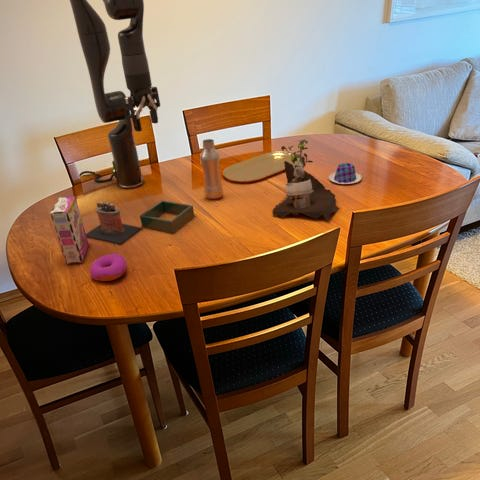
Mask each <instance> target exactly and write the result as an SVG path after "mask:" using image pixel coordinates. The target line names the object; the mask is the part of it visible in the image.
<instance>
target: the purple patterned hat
mask: <svg viewBox="0 0 480 480" xmlns="http://www.w3.org/2000/svg"><path fill="white" fill-rule="evenodd" d="M362 178H363V177H362V175H361V174H359V173H358V172H356V167H355V165H354V164H353V163H349V162H342V163H339V164H338V165H337V167H336V171H335V172H333V173H330V174H329V176H328V180H329V181H331V182H333V183H335V184H339V185H349V184H355V183H358V182H360V181H361V180H362Z"/></svg>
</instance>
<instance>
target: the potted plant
mask: <svg viewBox="0 0 480 480" xmlns="http://www.w3.org/2000/svg"><path fill="white" fill-rule="evenodd" d="M298 142H299V143H298V145H297V149H298V150H296V151H294V152H293V151H292V148H293V147H294V145H291V146H288V148H287V147H286V146H285V145H283V146H281V148H280V150H281V152H285V151H286V152H288V153H291V156H292V155H294V157H293V156H292V158H291V161H292V162H293V164H294V165H293V164H290V163H288V162H287V161H284V164H285V171H284V172H285V176H286V182H285V196H286V197H287V198H285V200H283V201H282V202H279V203H278V204H275V206H274V207H273V209H272V215H273V216H278V217H280V218H281V219H284V218H285V217H286V216H289V215H290V214H292V215H294V216H297V215H299V214H302V215H303V214H304V215H306V216H308V217H310V218H313V219H315V220H318V218H320V217H321V216H323V217H324V218H325V219H326V220H327V221H331V215H332V213H335V212H337V211H338V210H339V207H338V206H337V204H336V203H337V202H336V201H337V200H336V194H334V193H333V192H332V190H330V189H327V188H326V186H324V184H323V183H321V181H319V180H318V179H317V178H315V176H314V175H312V173H309V172H307V171H306V170H305V169H304V168H306V163H314V161H313V160H308V154H307V153H306V152H303V150H308V147H306V145H307V144H308V143H309V140H307V139H305V138H304V139H301V138H300V139H298ZM288 153H287V154H288ZM297 158H300V161H299V162H298V164H295V161H297Z"/></svg>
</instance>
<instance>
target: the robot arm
mask: <svg viewBox="0 0 480 480" xmlns="http://www.w3.org/2000/svg"><path fill="white" fill-rule="evenodd" d="M102 2H103V4H104V8H105V12H106V13H107V15H108V17H109V18H110V19H112V20H114V21H124V20H129V25H128V26H127V27H125V28H123V29H121V30H119V32H118V33H117V41H118V44H119V50H120V56H121V64H122V69H123V70H122V71H123V74H124V80H125V84H126V85H125V86H126V88H127V89H128V91H129V96H126V94H125V92H124V91H122V90H116V91H115V90H114V91H111V92H105V85H104V83H105V74H106V69H107V66H108V62H109V59H110V55H111V43H110V39H109V35H108V29H107V26H106V24H105V22H104V21H103V19H102V18H101V16H100V15H99V14H98V13H97V11H96V10H95V9H94V7H93V6H92V5H91V4H90V3H89V1H88V0H69V4H70V7H71V11H72V14H73V18H74V22H75V26H76V30H77V35H78V39H79V42H80V43H79V44H80V47H81V50H82V53H83V56H84V60H85V64H86V67H87V71H88V75H89V80H90V85H91V88H92V94H93V99H94V103H95V107H96V112H97V115H98V117H99V119H100V121H101V122H102V123H103V124H109V123H112V122H117V124H116V125H115V127H113V128H112V129H111V130H110V131H108V133H107V139H108V142H109V147H110V150H111V155H112V158H113V160H112V161H111V164H112V167H113V172H112V174H110V177H109V178H107V179H99V178H100V177H101V175H100V174H99V173H98V174H99V176H98V174H95V171H92V170H83V171H82V172H80V173H79V175H78V177H82V176H83V175H85V174H90V175H91V174H92V173H93V174H92V175H95V176H96V177H94V182H96V183H106V182H111V181H112V180H113V179H116V183H117V186H119V187H120V188H122V189H135V188H137V187H140V186H142V185H143V184H144V174H142V170H141V169H142V168H141V164H140V159H139V154H138V150H137V145H136V140H135V136H134V131H135V132H139V133H140V132H142V131H143V129H142V128H143V127H142V123H141V119H140V116H141V113H142V111H143V109H144V108H146V107H147V108H148V110H149V117H150V121H151V123H152V124H158V123H159V117H158V109H159V108H160V107H161V101H160V96H159V90H158V86H152V85H153V84H152V83H153V82H152V77H151V72H150V65H149V60H148V57H147V54H146V48H145V42H144V16H145V15H144V14H145V3H144V0H102Z"/></svg>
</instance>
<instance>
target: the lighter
mask: <svg viewBox="0 0 480 480" xmlns="http://www.w3.org/2000/svg"><path fill="white" fill-rule="evenodd" d="M96 207H97V208H96V209H95V212H96V214H97V217H98V220H99V225H101V227H102V229H101V230H102V232H103V233H108V234H123V233H124V232H125V231H124V228H123V225H122V224H123V222H122V217H121V214H120V213H121V211H120V209H118V208H116V206H115V203H111V202H110V201H106V202H104V201H97V202H96Z"/></svg>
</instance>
